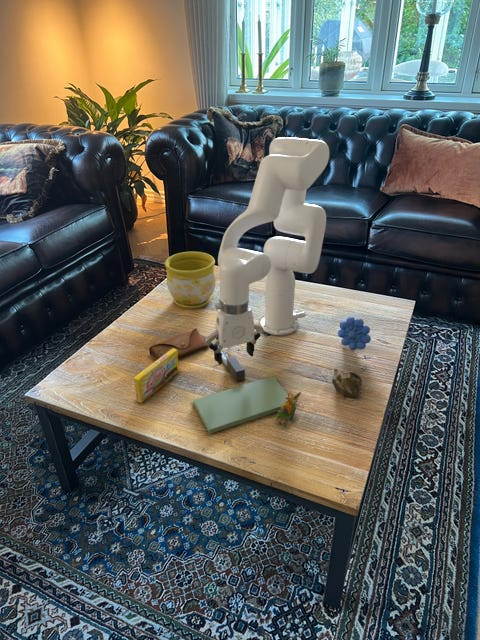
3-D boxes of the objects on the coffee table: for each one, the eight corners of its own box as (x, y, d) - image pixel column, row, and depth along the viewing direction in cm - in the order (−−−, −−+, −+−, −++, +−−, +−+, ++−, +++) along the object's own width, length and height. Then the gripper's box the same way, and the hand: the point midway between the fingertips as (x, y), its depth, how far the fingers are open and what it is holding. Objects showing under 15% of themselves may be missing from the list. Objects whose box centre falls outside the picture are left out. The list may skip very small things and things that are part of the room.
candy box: (142, 404, 118) (138, 380, 114) (136, 401, 119) (132, 377, 115) (179, 372, 130) (177, 349, 126) (174, 369, 131) (171, 347, 127)
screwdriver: (244, 379, 127) (244, 369, 125) (236, 382, 126) (236, 372, 124) (224, 351, 139) (224, 342, 137) (216, 353, 138) (216, 344, 136)
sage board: (272, 379, 127) (272, 375, 126) (293, 406, 117) (294, 401, 116) (193, 403, 118) (193, 399, 117) (209, 434, 109) (209, 429, 108)
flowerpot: (175, 288, 175) (172, 250, 167) (220, 291, 173) (219, 252, 165) (163, 311, 160) (158, 270, 152) (211, 314, 158) (209, 273, 149)
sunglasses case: (163, 366, 131) (155, 346, 130) (154, 367, 137) (146, 347, 136) (212, 344, 141) (204, 325, 140) (201, 345, 147) (194, 327, 146)
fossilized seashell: (328, 368, 127) (327, 396, 119) (343, 356, 123) (343, 383, 115) (349, 380, 128) (350, 407, 121) (365, 368, 124) (366, 396, 117)
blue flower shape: (375, 352, 138) (381, 320, 131) (362, 361, 134) (368, 328, 128) (345, 337, 145) (350, 305, 139) (332, 344, 141) (336, 312, 135)
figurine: (270, 429, 110) (271, 405, 106) (294, 403, 118) (296, 379, 114) (281, 435, 108) (283, 410, 104) (305, 407, 117) (307, 383, 112)
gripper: (208, 318, 111) (210, 372, 119) (269, 304, 117) (267, 357, 126) (198, 305, 117) (201, 358, 125) (257, 293, 123) (255, 344, 131)
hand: (234, 357), depth 125 cm, fingers open, 9 cm apart
